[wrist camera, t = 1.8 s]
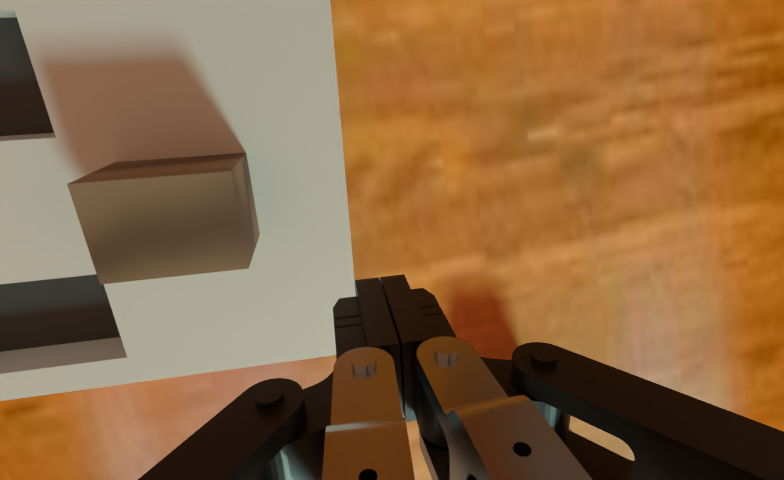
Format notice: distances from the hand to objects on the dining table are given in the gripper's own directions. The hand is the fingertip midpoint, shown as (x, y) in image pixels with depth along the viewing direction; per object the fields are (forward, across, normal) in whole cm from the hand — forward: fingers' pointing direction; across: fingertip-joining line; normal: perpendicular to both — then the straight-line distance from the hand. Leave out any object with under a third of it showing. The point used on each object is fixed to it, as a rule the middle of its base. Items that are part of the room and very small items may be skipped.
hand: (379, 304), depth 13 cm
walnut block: (+14, +9, 0) cm, 17 cm away
